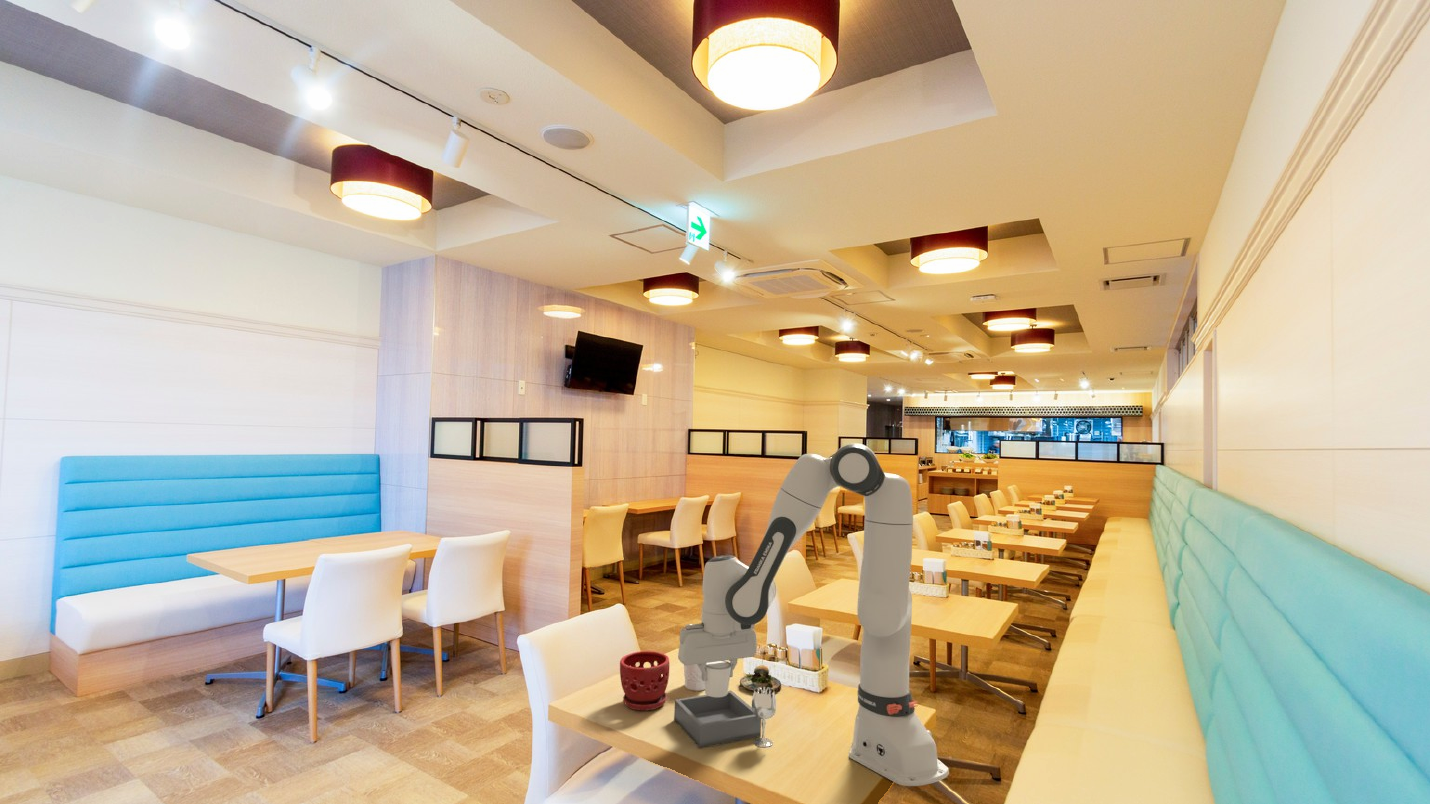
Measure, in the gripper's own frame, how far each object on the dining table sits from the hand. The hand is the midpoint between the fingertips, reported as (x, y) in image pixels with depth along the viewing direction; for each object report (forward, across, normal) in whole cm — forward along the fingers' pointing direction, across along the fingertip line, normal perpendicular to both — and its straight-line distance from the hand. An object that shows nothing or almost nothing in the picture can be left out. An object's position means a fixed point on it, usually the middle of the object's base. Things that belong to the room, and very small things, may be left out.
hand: (717, 678), depth 160 cm
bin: (+12, 0, 0) cm, 12 cm away
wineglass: (+12, +7, -11) cm, 18 cm away
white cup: (+12, +6, +26) cm, 29 cm away
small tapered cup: (+4, 0, 0) cm, 4 cm away
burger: (+12, +23, +19) cm, 32 cm away
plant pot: (+12, -12, +20) cm, 26 cm away
